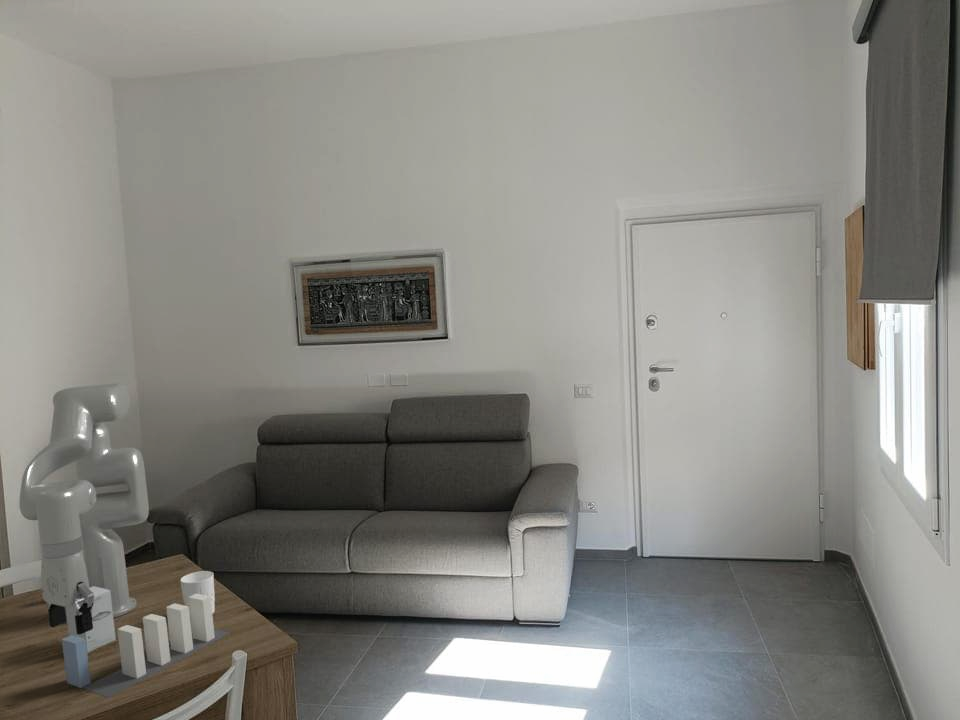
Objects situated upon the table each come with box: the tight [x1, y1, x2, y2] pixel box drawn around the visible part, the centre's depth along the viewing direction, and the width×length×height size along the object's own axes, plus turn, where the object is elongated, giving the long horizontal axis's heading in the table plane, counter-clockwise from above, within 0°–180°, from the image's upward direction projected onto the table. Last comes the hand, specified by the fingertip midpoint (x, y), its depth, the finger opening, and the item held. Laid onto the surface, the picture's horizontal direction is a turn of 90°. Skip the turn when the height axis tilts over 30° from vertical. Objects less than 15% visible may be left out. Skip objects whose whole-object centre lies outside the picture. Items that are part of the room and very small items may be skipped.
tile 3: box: [142, 613, 171, 666], centre depth 165 cm, size 2×5×10 cm, turn 59°
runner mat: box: [82, 628, 231, 698], centre depth 167 cm, size 9×31×1 cm, turn 149°
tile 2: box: [117, 624, 146, 678], centre depth 160 cm, size 2×5×10 cm, turn 59°
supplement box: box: [65, 586, 116, 654], centre depth 177 cm, size 7×7×13 cm
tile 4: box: [165, 603, 193, 653], centre depth 170 cm, size 2×5×10 cm, turn 59°
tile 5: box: [189, 594, 215, 642], centre depth 176 cm, size 2×5×10 cm, turn 59°
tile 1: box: [61, 635, 92, 689], centre depth 158 cm, size 2×5×10 cm, turn 59°
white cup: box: [179, 570, 216, 620], centre depth 190 cm, size 8×8×10 cm
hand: (71, 628), depth 157 cm, fingers open, 9 cm apart
